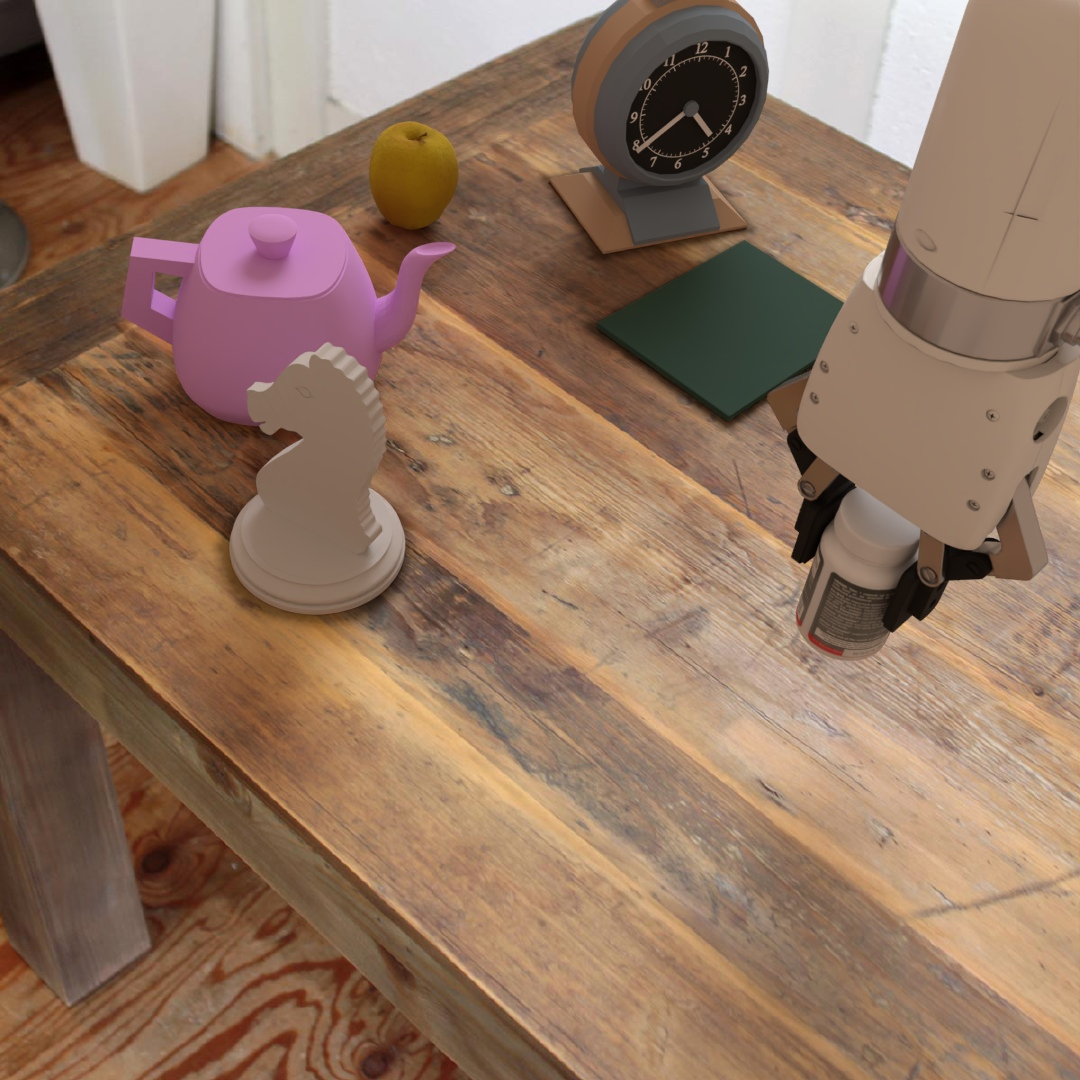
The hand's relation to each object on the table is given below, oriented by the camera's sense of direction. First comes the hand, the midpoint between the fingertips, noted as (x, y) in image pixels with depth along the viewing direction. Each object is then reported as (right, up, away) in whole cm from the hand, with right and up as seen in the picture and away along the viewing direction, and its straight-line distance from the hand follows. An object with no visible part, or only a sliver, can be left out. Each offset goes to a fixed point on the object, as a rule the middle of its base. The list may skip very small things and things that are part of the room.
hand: (859, 577), depth 65 cm
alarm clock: (-7, +28, +38) cm, 47 cm away
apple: (-25, +25, +33) cm, 49 cm away
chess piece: (-28, +1, +11) cm, 30 cm away
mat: (-2, +17, +29) cm, 33 cm away
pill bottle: (0, -3, +3) cm, 4 cm away
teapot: (-31, +13, +21) cm, 40 cm away
